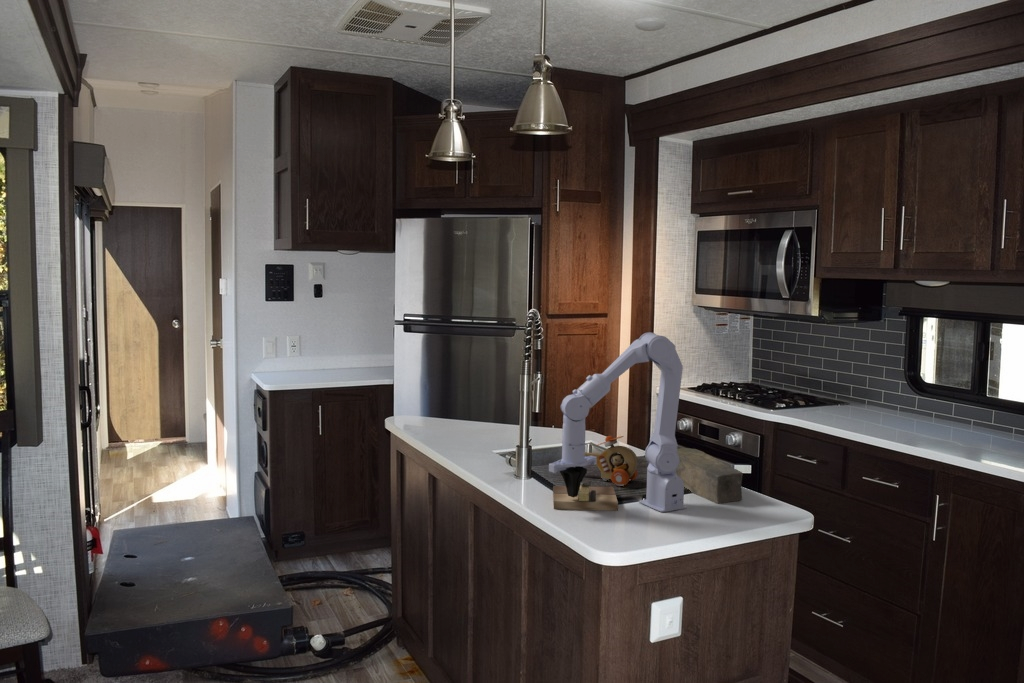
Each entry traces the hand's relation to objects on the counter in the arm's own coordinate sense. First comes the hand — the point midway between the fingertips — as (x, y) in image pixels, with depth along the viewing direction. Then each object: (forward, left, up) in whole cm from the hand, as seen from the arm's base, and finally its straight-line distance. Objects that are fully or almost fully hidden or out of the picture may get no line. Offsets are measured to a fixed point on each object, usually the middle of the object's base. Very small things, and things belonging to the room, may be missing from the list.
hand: (572, 496), depth 208 cm
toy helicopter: (+17, -22, -3) cm, 28 cm away
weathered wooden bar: (-1, -41, -3) cm, 41 cm away
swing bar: (+1, -4, 0) cm, 4 cm away
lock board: (+3, -6, -3) cm, 7 cm away
